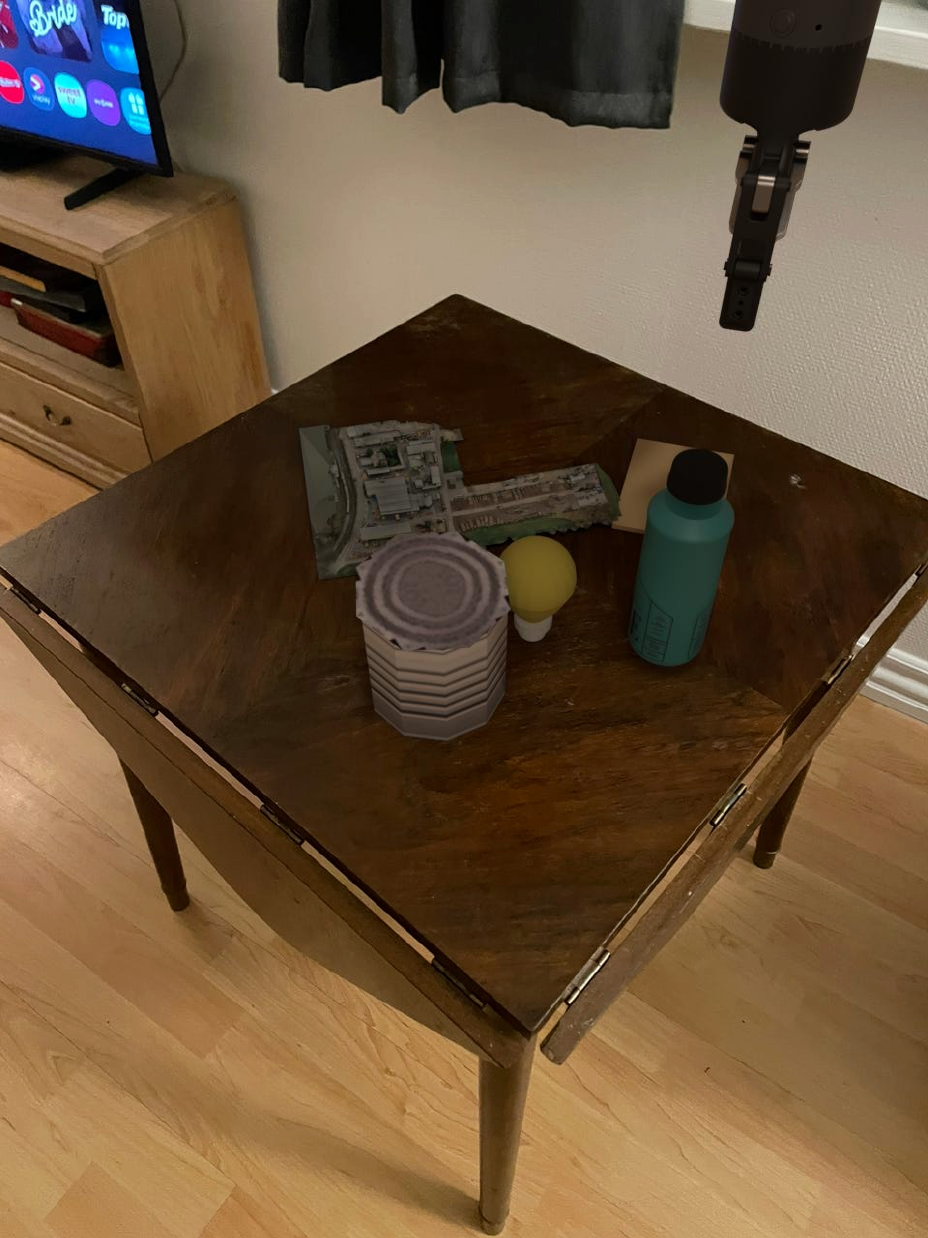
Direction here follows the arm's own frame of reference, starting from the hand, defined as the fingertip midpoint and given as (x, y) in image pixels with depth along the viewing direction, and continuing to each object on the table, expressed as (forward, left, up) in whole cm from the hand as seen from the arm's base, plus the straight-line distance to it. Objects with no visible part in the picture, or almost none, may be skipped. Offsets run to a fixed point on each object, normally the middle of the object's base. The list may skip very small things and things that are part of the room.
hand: (743, 295), depth 63 cm
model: (+23, -9, -28) cm, 38 cm away
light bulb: (+11, +8, -29) cm, 32 cm away
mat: (+2, -14, -28) cm, 32 cm away
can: (+17, +16, -29) cm, 37 cm away
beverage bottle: (0, +7, -29) cm, 30 cm away
